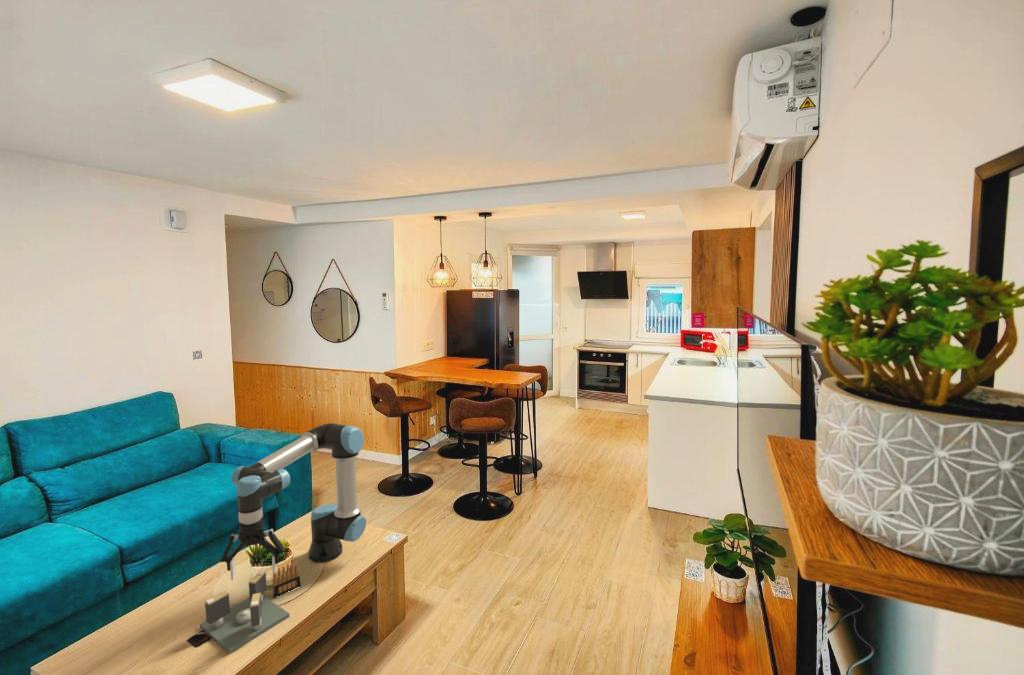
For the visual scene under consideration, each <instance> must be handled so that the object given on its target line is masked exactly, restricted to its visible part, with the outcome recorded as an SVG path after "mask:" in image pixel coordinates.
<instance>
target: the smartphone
mask: <svg viewBox="0 0 1024 675" xmlns="http://www.w3.org/2000/svg"><path fill="white" fill-rule="evenodd" d="M211 640H213V639H212V638H211V637H210V636H209V635H208V634H207V633H206V632H204V631H203V630H202V629H201V631H198V632H197V633H195V634H194V635H192V636H190V637H188V639H187V640H186V642H187V643H188V644H190V645H191V646H192V647H194V648H199V647H201V646H202V645H204V644H206V643H207V642H209V641H211Z"/></svg>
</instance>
